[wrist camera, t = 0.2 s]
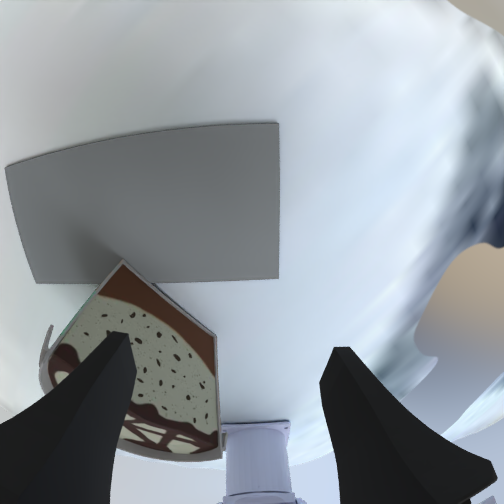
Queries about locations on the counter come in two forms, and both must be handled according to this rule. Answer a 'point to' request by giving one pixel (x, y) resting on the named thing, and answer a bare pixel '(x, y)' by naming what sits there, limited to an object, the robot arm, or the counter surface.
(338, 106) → the counter surface
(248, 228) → the mat
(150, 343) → the food container
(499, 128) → the counter surface
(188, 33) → the counter surface
